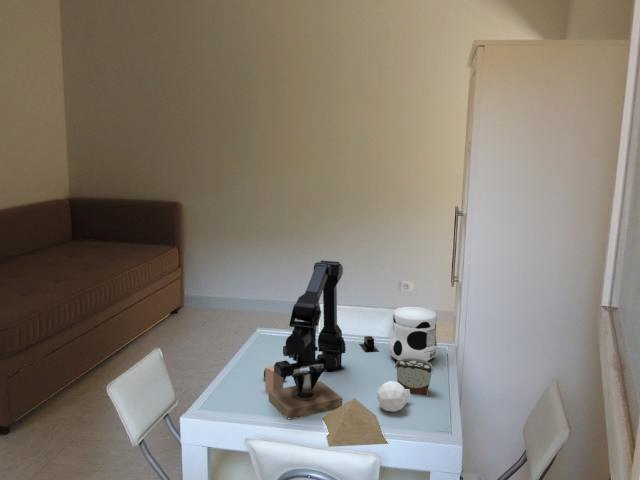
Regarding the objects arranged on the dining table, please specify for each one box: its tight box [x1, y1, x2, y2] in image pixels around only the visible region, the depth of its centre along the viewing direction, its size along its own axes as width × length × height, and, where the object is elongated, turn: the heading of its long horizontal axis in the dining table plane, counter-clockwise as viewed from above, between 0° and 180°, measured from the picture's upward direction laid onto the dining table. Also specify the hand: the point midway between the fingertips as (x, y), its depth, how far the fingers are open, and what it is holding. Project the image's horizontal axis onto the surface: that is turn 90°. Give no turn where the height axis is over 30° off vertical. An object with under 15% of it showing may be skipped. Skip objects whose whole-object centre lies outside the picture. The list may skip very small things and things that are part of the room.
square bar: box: [264, 364, 284, 394], centre depth 185 cm, size 4×4×8 cm
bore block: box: [268, 380, 343, 419], centre depth 177 cm, size 18×14×3 cm
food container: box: [394, 358, 434, 398], centre depth 188 cm, size 12×6×10 cm, turn 71°
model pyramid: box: [321, 397, 389, 448], centre depth 162 cm, size 17×17×10 cm
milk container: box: [389, 306, 438, 364], centre depth 213 cm, size 17×17×18 cm
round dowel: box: [299, 369, 312, 398], centre depth 177 cm, size 4×4×8 cm
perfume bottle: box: [376, 380, 411, 413], centre depth 175 cm, size 9×9×12 cm
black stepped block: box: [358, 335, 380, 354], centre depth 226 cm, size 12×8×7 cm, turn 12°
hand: (305, 391), depth 177 cm, fingers closed on round dowel, 3 cm apart
